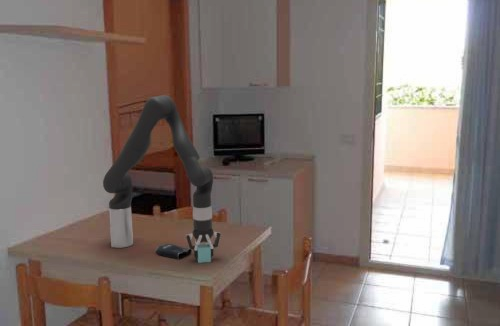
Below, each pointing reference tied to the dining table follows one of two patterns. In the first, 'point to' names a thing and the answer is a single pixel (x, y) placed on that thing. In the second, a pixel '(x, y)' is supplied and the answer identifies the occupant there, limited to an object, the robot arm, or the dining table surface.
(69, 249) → the dining table surface
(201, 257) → the teal block
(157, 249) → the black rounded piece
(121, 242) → the robot arm
